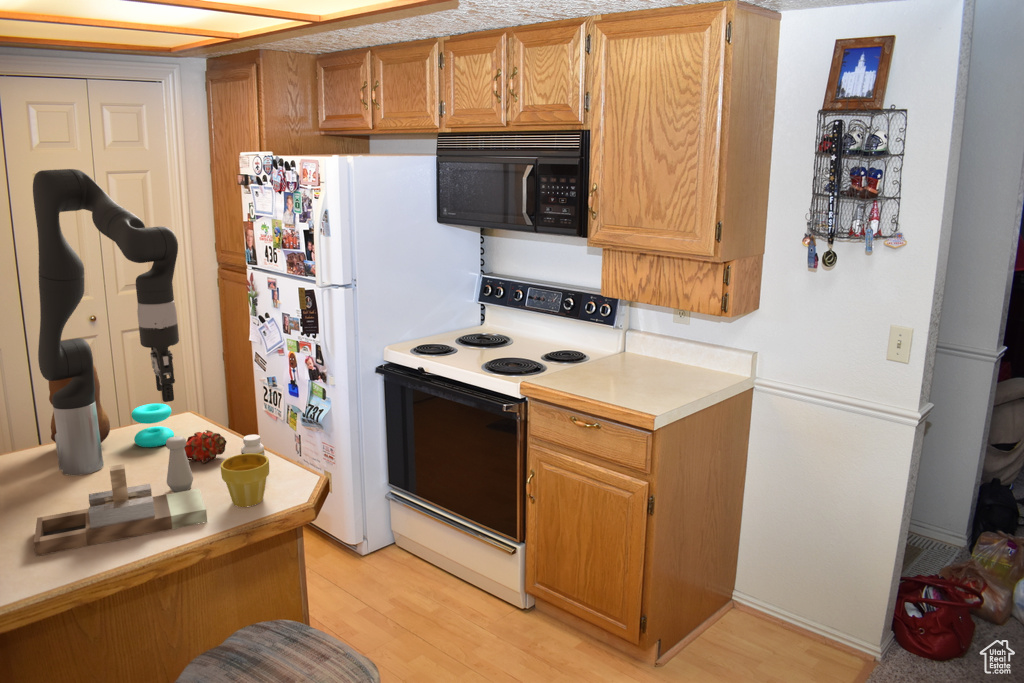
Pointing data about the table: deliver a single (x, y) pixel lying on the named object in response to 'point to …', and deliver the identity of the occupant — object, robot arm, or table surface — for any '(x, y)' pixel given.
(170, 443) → the salt shaker
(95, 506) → the grey slotted block
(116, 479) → the slider block
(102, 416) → the butternut squash
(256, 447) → the supplement bottle
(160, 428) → the donuts
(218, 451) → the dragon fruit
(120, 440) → the table surface
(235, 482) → the plant pot
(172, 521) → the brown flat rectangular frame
